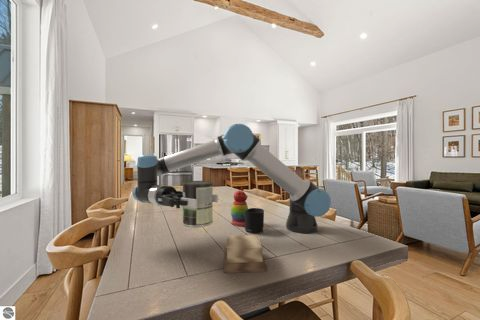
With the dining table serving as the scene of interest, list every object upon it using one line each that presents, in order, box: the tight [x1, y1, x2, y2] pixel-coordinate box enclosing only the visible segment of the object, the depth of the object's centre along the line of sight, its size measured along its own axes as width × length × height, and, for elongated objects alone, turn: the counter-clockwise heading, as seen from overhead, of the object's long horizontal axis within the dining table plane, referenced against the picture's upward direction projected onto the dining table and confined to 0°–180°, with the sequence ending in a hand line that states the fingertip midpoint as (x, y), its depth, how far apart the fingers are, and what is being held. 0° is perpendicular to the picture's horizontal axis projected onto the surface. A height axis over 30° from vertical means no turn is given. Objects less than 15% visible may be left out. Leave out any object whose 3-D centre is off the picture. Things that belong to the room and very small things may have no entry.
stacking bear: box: [230, 189, 249, 228], centre depth 117 cm, size 11×10×18 cm
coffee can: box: [182, 180, 214, 229], centre depth 75 cm, size 10×10×14 cm
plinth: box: [223, 234, 267, 274], centre depth 73 cm, size 13×13×7 cm
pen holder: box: [244, 207, 265, 235], centre depth 105 cm, size 9×9×10 cm
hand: (207, 201), depth 72 cm, fingers closed on coffee can, 10 cm apart
